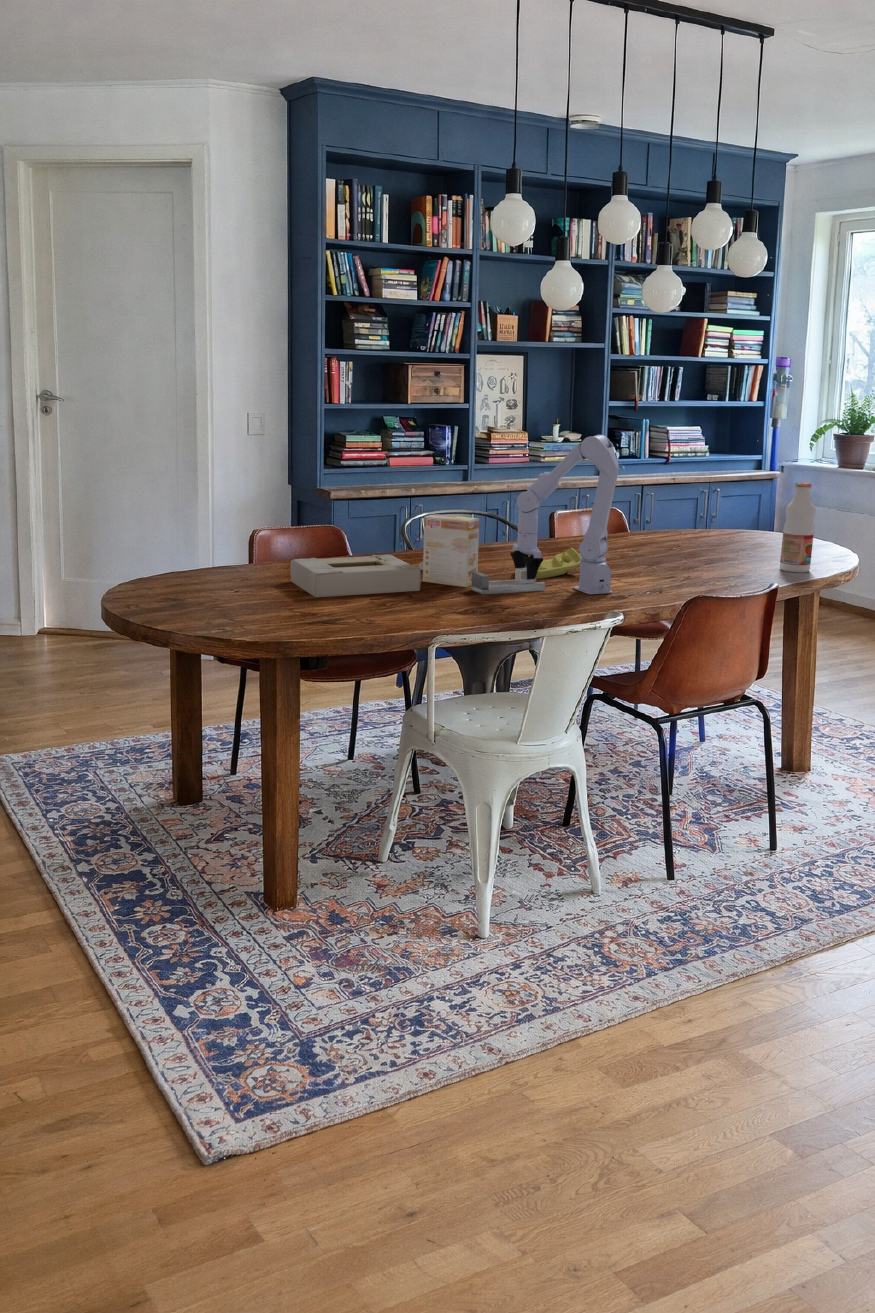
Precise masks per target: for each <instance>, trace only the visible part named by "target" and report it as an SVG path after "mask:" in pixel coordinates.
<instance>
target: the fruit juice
mask: <svg viewBox="0 0 875 1313" xmlns="http://www.w3.org/2000/svg"><path fill="white" fill-rule="evenodd" d="M794 484H795V485H794V488H795V492H794V495H793V497H792V500H791V501H790V502H789V503H788V504H787V506H786V507H785V517H786V519H785V522H784V524H783V529H782V542H781V550H780V551H781V552H780V561H779V569H780V570H781V571H782V572H783V571H784V572H787V573H788V572H789V573H808V572H810V570H811V562H812V553H813V544H814V543H813V542H814V533H815V524H814V519H815V516H816V507H815V504H813V502H812V499H811V494H810V491H811V490H812V482H803V481H802V482H795V483H794Z"/></svg>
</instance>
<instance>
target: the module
mask: <svg viewBox="0 0 875 1313" xmlns="http://www.w3.org/2000/svg"><path fill="white" fill-rule="evenodd" d="M514 570H515V572H514V580H517V579H527V569H526V568H515V567H514ZM535 579H536V578H535ZM536 580H537V579H536Z"/></svg>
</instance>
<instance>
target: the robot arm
mask: <svg viewBox="0 0 875 1313" xmlns="http://www.w3.org/2000/svg"><path fill="white" fill-rule="evenodd" d="M585 460H588V461H589V462H591V463H593V465H594V466H595V467H596V468H597V470H598V471H599V476H598V480H597V485H596V489H595V495H594V501H593V504H592V510H591V513H590V514H591V515H590V519H589V524H588V527H587V529H586V532H585V534H584V538H583V540H582V542H580V544H579V547H578V553H579V554H580V556H581V560H580V564H579V579H578V580H579V581H578V582H579V583H578V586H577V585H576V586H573V587H572V589H575V590H577V591H579V592H582V593H584V594H587V595H599V594H600V595H601V594H602V595H603V594H613V591H612V590H611V579H612V570H611V568H610V566H609V565H608V564H607V561H606V560H607V558H606V553H608V551H609V550H608V549H609V541H608V534H609V532H608V529H607V528H608V523H609V519H610V513H611V509H612V503H613V500H614V494H615V489H616V487H617V486H616V484H617V480H618V477H619V476H618V475H619V470H620V464H619V461H618V459H617V456H616V453H615V448H614V444H613V443H612V442H611V441H610V439H609V438H608V437H607V436H605V435H603V434H595V435H593V436H587V437H585V438H584V439H583V440H582V441H581V442H579V443H578V444H577V445H575V446H574V447H573V448H572V449H571V450H570V451H569V452H568V453H567V454H566V455H565V456H564V457H563V459H562V460H561V461H560V462H558V464H557V465H556V466H555V467H554V468H553V470H551V471H544V472H543V473H539V474H538V475H537V476H536V477H537V479H536V480H535V481H534V482H533V483H532V484H531V485H528V486H527V487H526V491H522V492H520V493H519V495H517V496H518V497H517V498H516V506H517V508H518V519H517V520H518V521H517V522H518V524H517V543H516V542H515V543H513V544H512V550H513V551H511V552H510V553H509V554H510V557H511V558H512V562H513V565H514V569H515V568H525V566H526V569H527V579H535V578H536V575H537V572H538V569H539V566H540V565H541V563H542V561H544V557H542V551H541V550H540V549H539V548H538V547H537V546H538V545H537V544H538V525H539V509H540V507H541V505H542V504H543V502H544V501H545V500H546V499H547V498H548V497H549V496H550V495H551V494H552V493H554V492H555V490H556V489H558V487H559V483H560V479H562V478H563V476H565V475H566V474H567V473H568V472H569V471H570V470H572V468H574V467H575V466H576V465H577V464H578V463H579V462H582V461H585Z"/></svg>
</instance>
